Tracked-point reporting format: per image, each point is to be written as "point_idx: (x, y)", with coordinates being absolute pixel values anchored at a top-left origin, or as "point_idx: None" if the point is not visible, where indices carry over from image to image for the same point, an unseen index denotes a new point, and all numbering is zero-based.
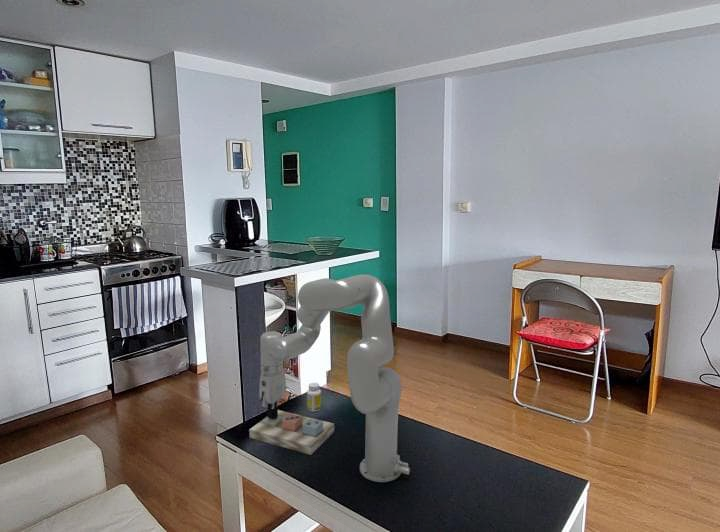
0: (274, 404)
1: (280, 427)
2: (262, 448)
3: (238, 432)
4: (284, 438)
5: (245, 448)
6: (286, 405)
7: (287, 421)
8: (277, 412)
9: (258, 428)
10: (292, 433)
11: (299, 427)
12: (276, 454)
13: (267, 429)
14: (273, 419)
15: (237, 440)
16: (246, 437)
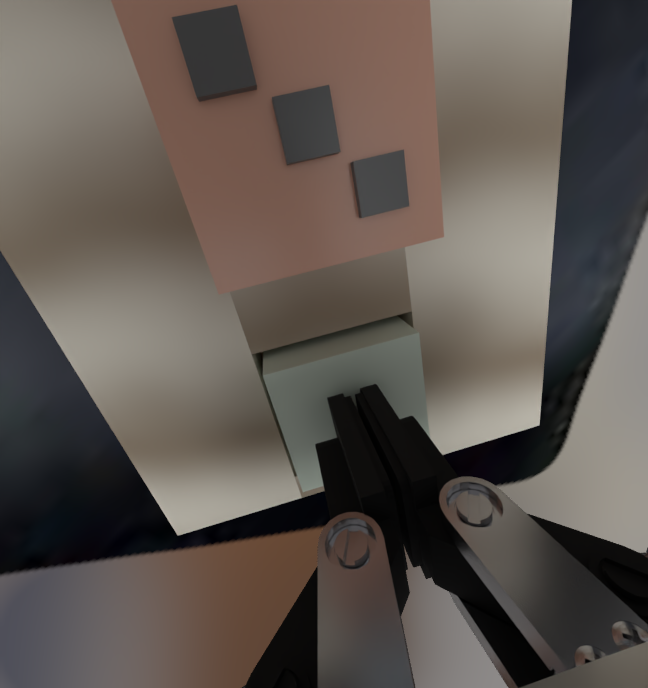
0: (482, 562)
1: (392, 259)
2: (569, 217)
3: (475, 473)
4: (563, 9)
5: (602, 309)
6: (17, 564)
7: (435, 122)
8: (343, 432)
9: (501, 391)
10: None
11: None
12: (609, 33)
13: (483, 325)
14: None
15: (544, 412)
16: None
